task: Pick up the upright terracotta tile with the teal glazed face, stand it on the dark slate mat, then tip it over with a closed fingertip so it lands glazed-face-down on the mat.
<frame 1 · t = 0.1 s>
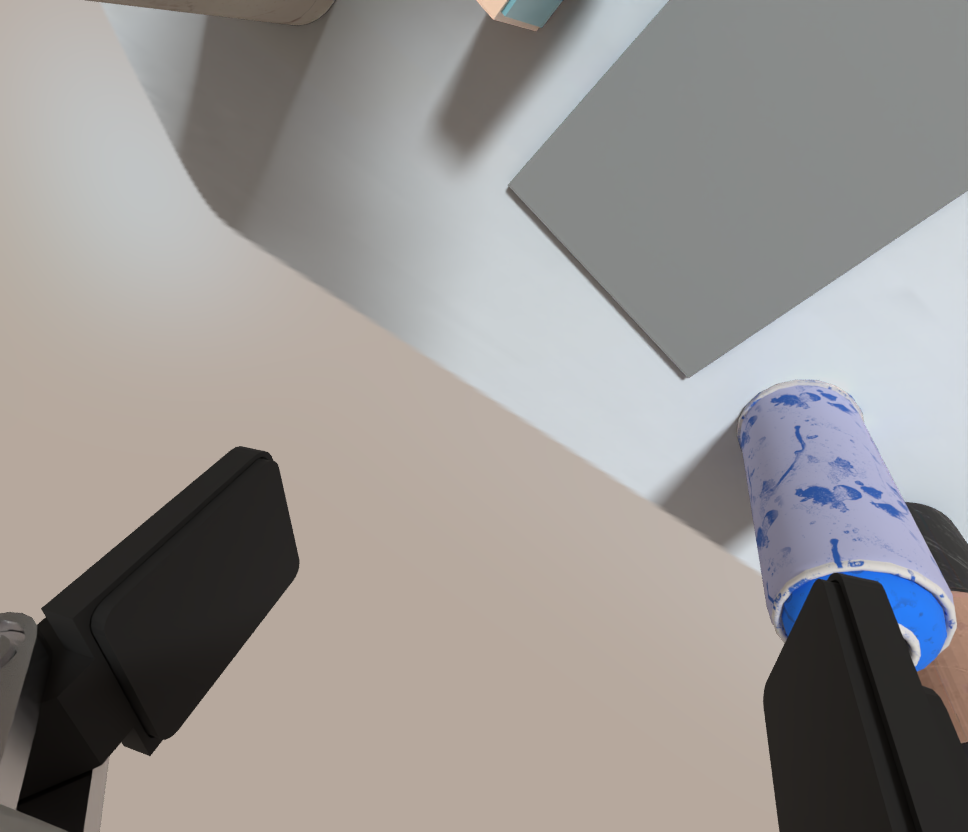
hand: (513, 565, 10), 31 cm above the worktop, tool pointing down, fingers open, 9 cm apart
aerosol can: (797, 427, 39), on the worktop
mat: (748, 155, 32), on the worktop
travel mug: (896, 537, 41), on the worktop
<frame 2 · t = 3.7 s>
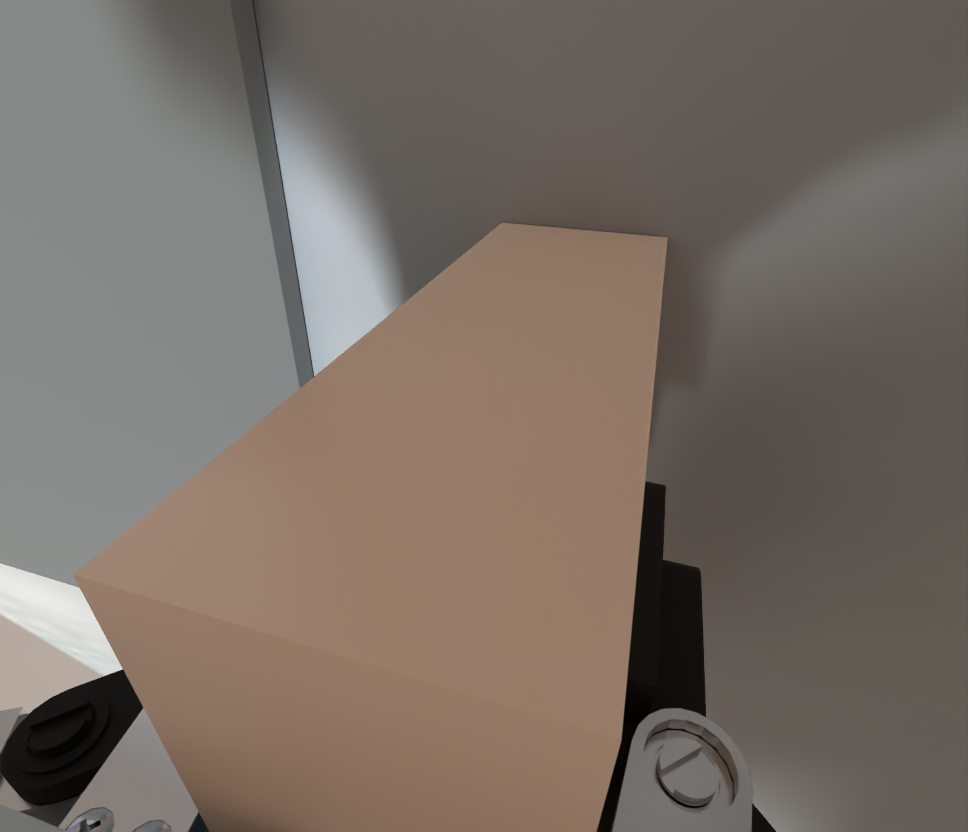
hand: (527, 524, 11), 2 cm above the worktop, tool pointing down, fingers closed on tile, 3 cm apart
mat: (31, 327, 16), on the worktop
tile: (557, 454, 13), on the worktop, touching gripper
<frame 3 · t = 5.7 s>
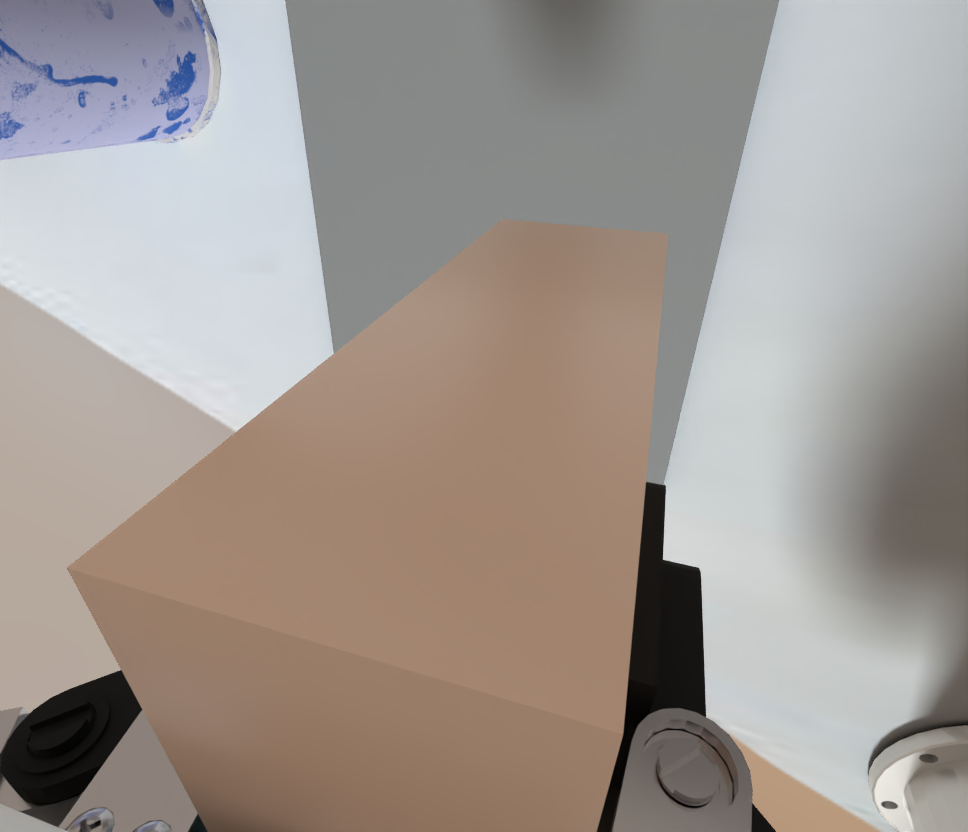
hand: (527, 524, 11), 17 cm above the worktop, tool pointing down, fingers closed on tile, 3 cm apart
aerosol can: (148, 46, 25), on the worktop
mat: (501, 260, 25), on the worktop
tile: (557, 452, 13), point 14 cm above the worktop, touching gripper
when the fingers open (4 cm above the worktop, at t = 8.1 s): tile stays where it is, resting on mat.
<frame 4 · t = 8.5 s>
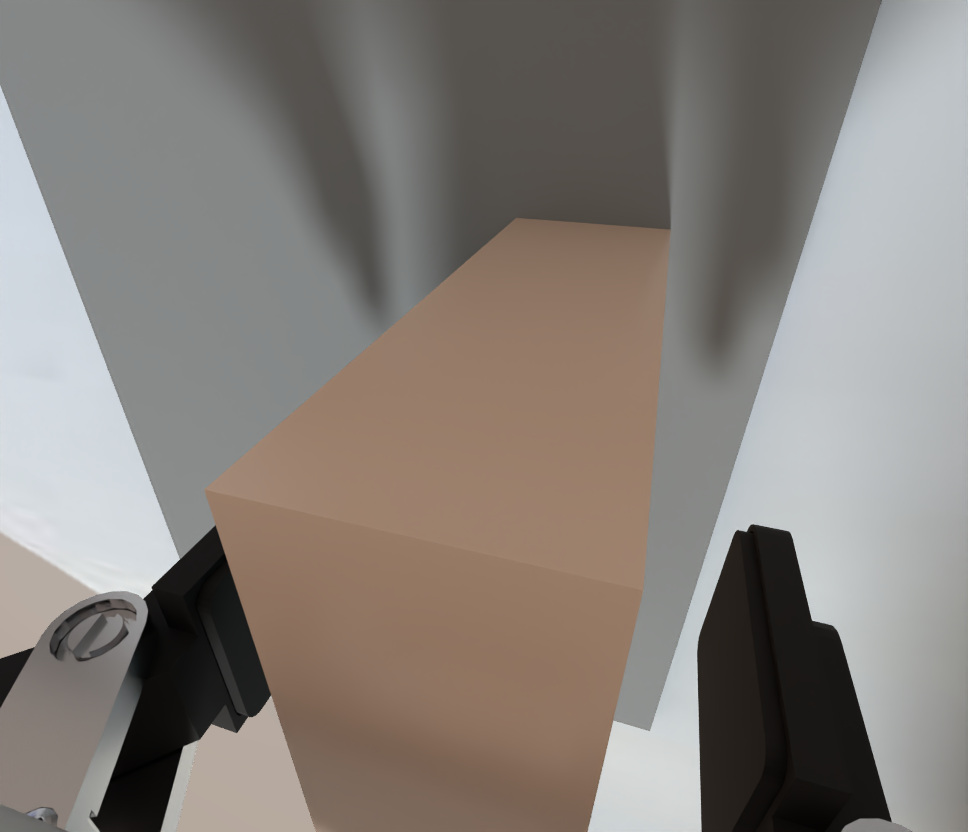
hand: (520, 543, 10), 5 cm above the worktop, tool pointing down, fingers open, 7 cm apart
mat: (381, 387, 15), on the worktop
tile: (568, 436, 14), point 1 cm above the worktop, touching mat
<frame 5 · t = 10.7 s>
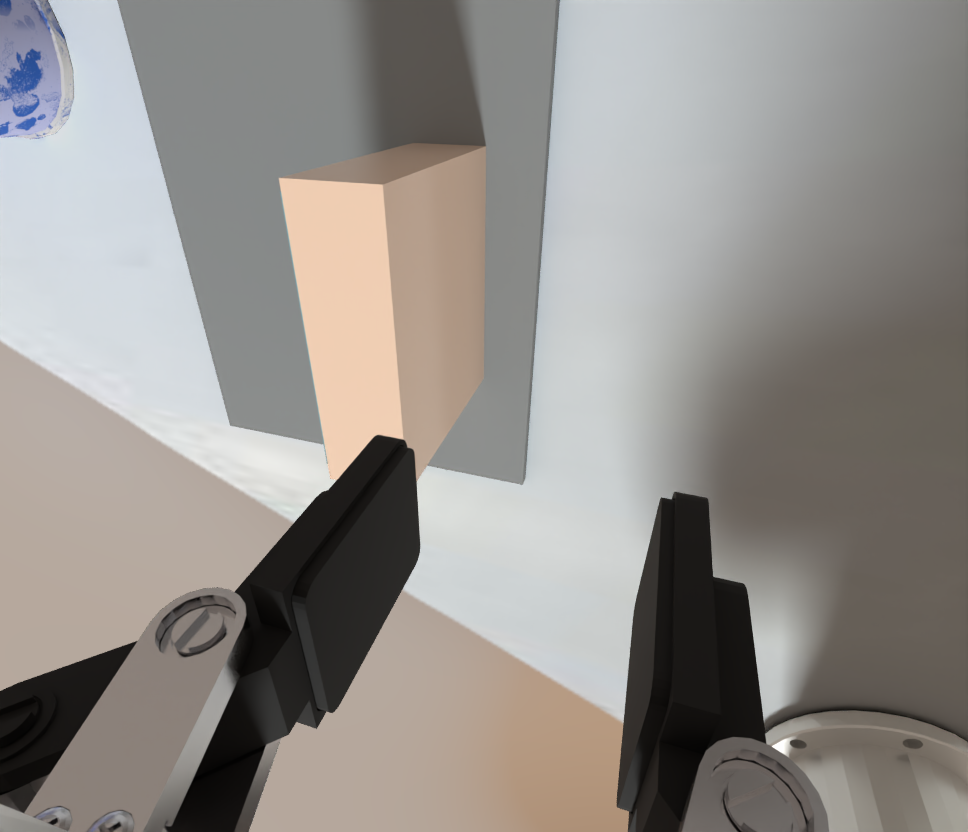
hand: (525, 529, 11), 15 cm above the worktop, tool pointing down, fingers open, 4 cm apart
aerosol can: (4, 43, 26), on the worktop
mat: (350, 253, 26), on the worktop
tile: (451, 271, 24), point 1 cm above the worktop, touching mat
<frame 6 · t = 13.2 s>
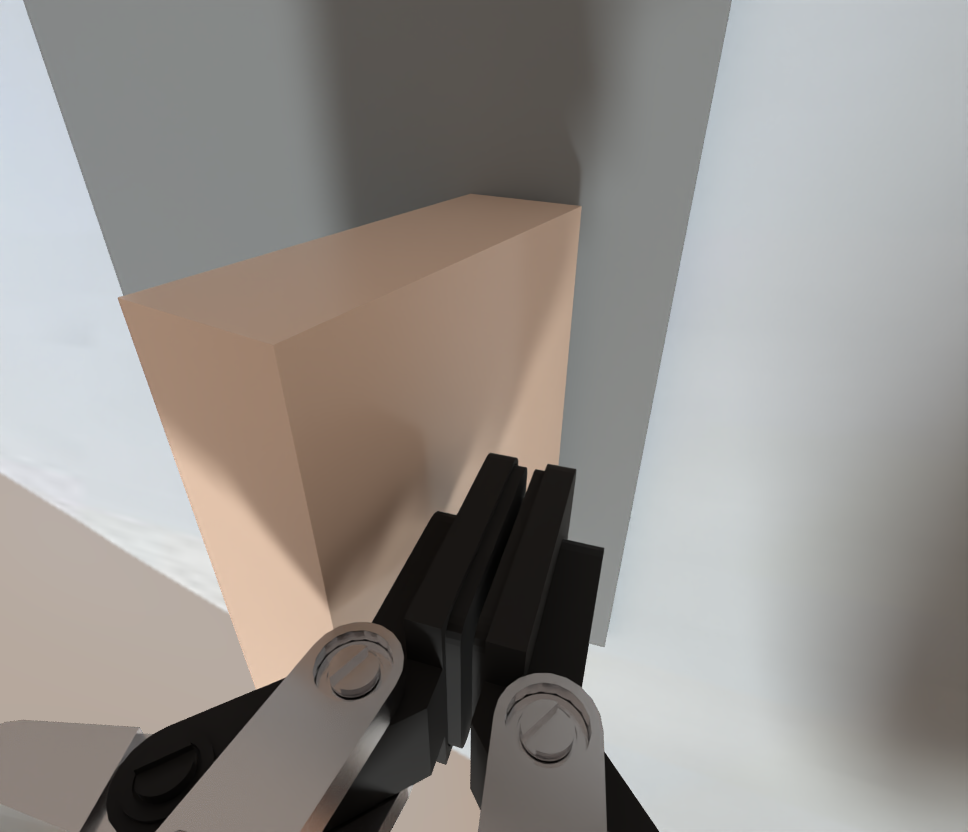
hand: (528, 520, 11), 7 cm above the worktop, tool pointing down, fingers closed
mat: (368, 342, 18), on the worktop
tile: (516, 382, 16), point 1 cm above the worktop, tilted 14°, touching mat
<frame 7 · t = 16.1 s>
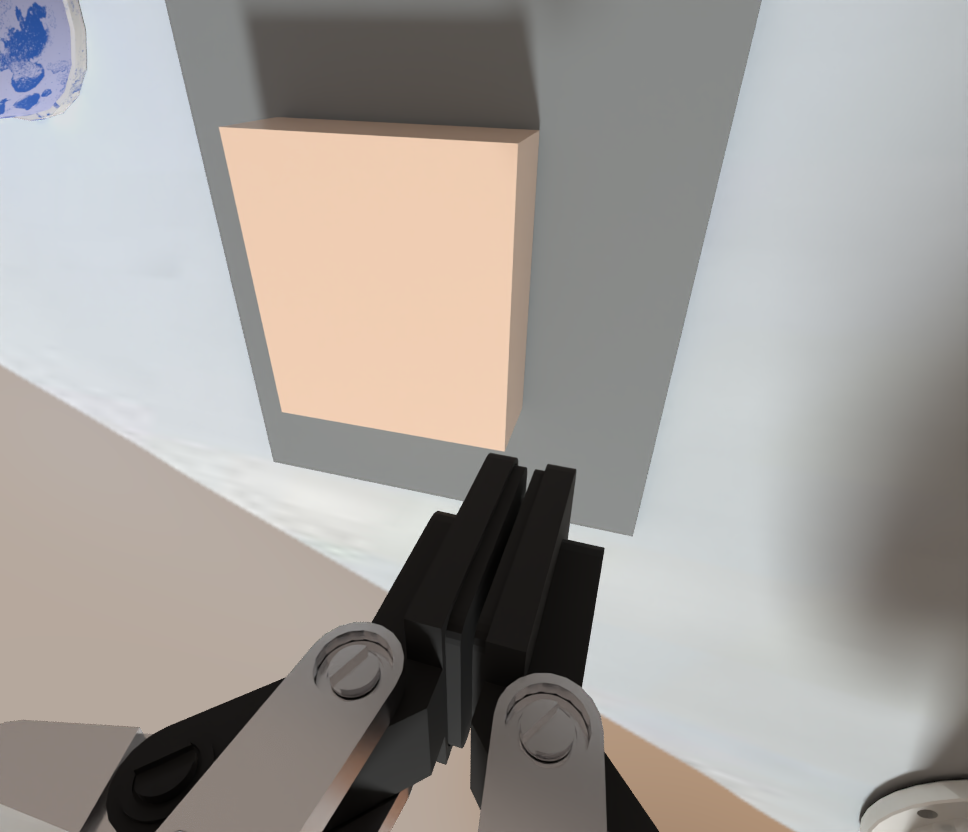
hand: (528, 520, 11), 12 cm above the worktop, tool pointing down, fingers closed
mat: (439, 266, 21), on the worktop
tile: (520, 304, 18), point 2 cm above the worktop, tilted 90°, touching mat
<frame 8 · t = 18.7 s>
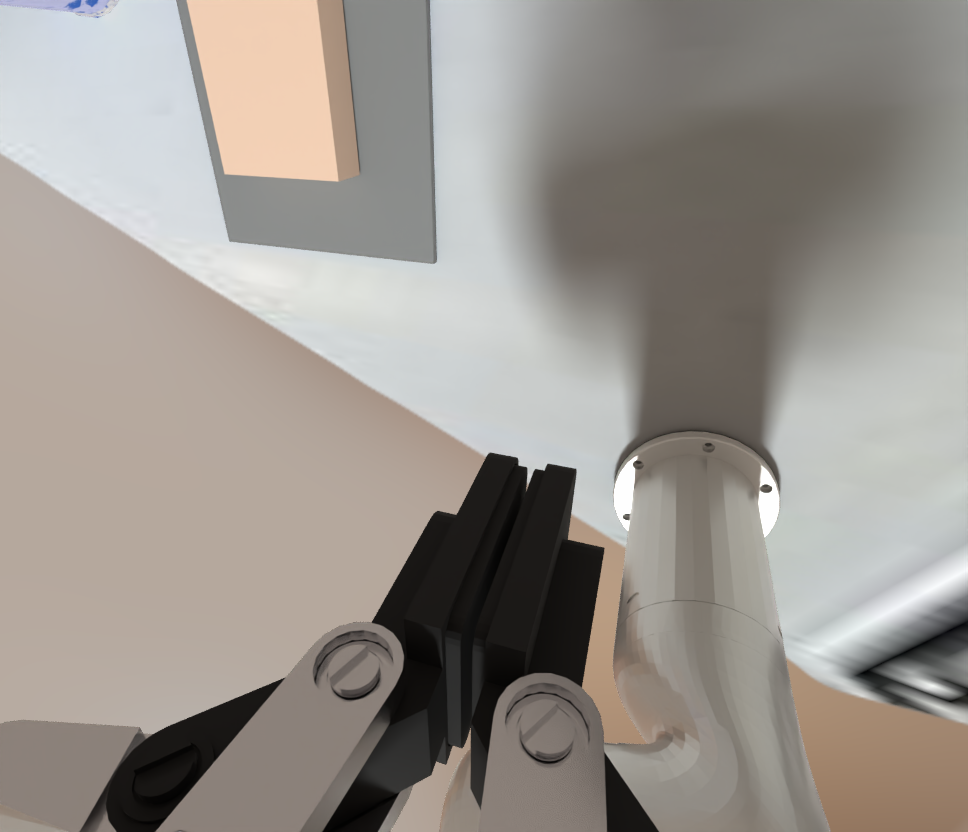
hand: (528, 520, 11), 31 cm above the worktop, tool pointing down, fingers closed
mat: (310, 89, 38), on the worktop
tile: (340, 94, 36), point 2 cm above the worktop, tilted 90°, touching mat
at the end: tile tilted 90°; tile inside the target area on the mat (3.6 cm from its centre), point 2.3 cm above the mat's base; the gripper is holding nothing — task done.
